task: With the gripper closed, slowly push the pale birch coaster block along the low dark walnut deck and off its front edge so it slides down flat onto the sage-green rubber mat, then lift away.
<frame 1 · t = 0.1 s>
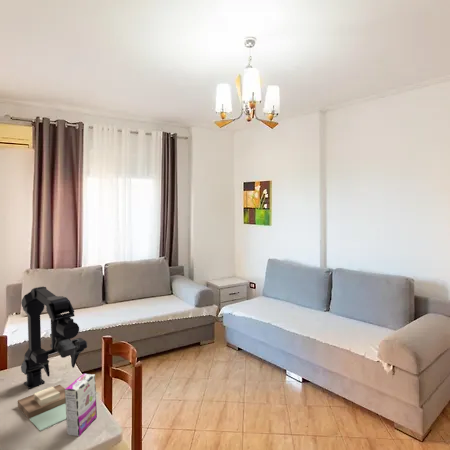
hand: (61, 371, 134), 15 cm above the table, fingers open, 9 cm apart
sage mat: (57, 415, 131), on the table
birch block: (47, 399, 137), point 2 cm above the table, touching walnut deck
candy bar box: (82, 426, 124), on the table
walnut deck: (45, 403, 138), on the table
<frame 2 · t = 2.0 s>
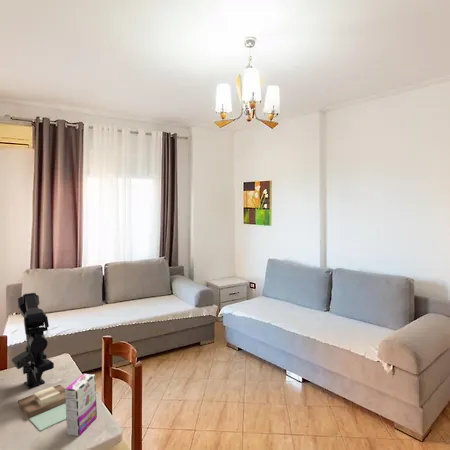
hand: (37, 380, 143), 7 cm above the table, fingers closed
nothing on the table moved.
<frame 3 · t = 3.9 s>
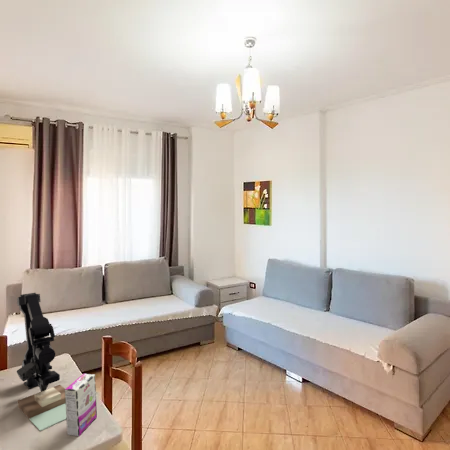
hand: (43, 392, 139), 4 cm above the table, fingers closed
birch block: (47, 399, 136), point 2 cm above the table, touching gripper, walnut deck
everything else where it was.
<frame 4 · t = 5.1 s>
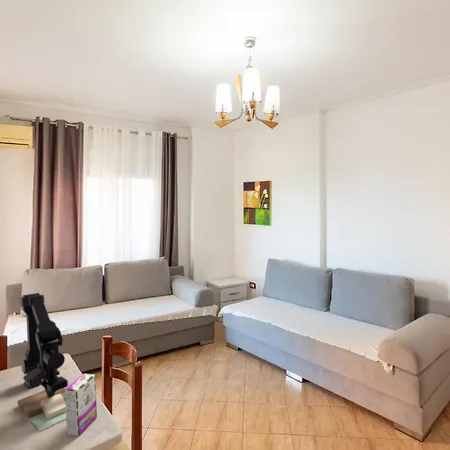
hand: (50, 399, 134), 4 cm above the table, fingers closed
birch block: (53, 408, 132), point 2 cm above the table, tilted 20°, touching walnut deck
everything else where it was.
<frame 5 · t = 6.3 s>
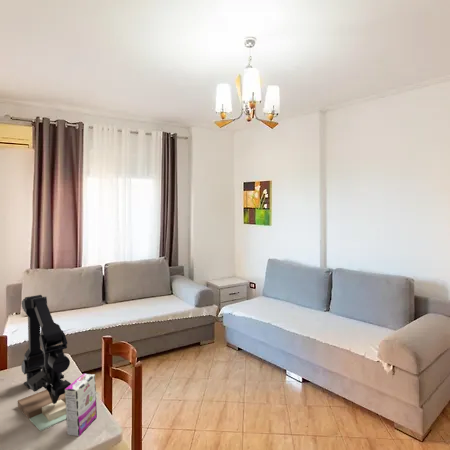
hand: (54, 403, 132), 4 cm above the table, fingers closed
birch block: (55, 413, 131), resting on sage mat
everything else where it was.
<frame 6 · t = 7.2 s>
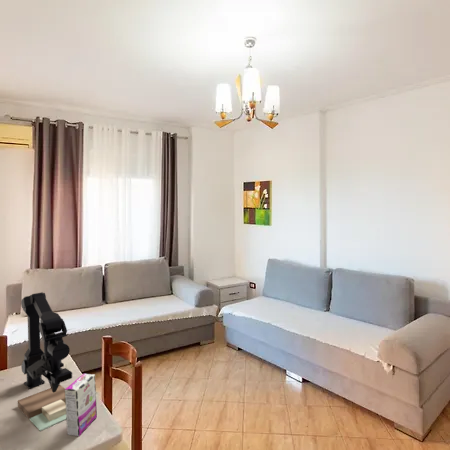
hand: (54, 391, 132), 8 cm above the table, fingers closed
nothing on the table moved.
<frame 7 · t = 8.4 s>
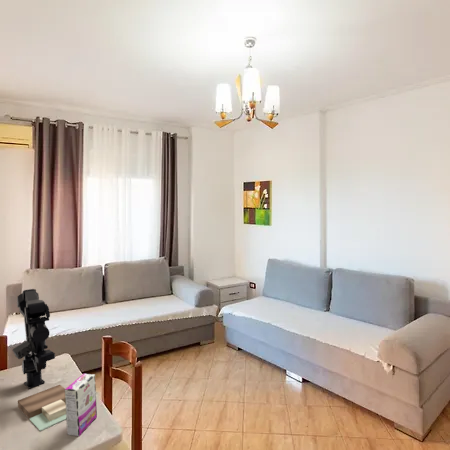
hand: (38, 371, 141), 11 cm above the table, fingers closed
nothing on the table moved.
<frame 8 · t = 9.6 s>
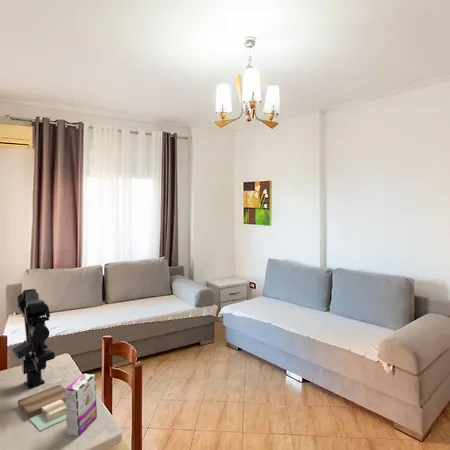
hand: (38, 371, 141), 11 cm above the table, fingers closed
nothing on the table moved.
at the end: birch block inside the target area (2.5 cm from its centre), resting on sage mat; birch block touching sage mat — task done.
